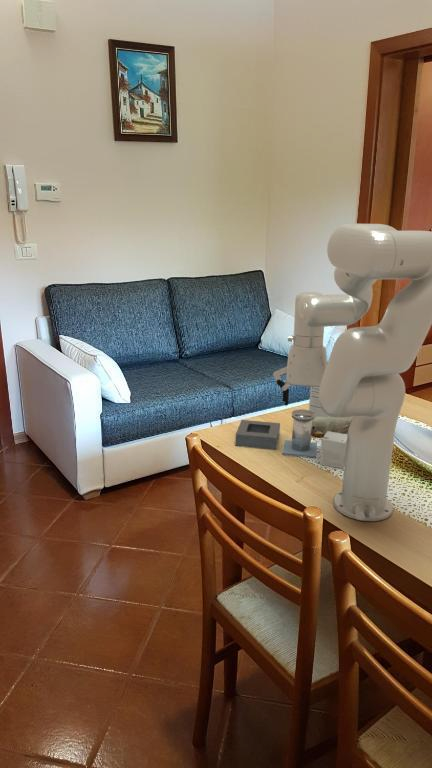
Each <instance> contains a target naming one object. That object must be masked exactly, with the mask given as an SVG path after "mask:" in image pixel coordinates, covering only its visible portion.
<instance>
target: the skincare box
mask: <svg viewBox="0 0 432 768" xmlns="http://www.w3.org/2000/svg"><path fill="white" fill-rule="evenodd" d="M346 444H347V434H341V433H336V432H330V431H327V433H326V434H325V435H324V434H323V437H322V438H321V445H320V447H321V448H320V461H319V462H320V463H319V464H320V466H321V465H322V466H327V467H332V468H335V469H342V470H344V464H345V454H346Z"/></svg>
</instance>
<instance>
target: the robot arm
mask: <svg viewBox="0 0 432 768" xmlns="http://www.w3.org/2000/svg"><path fill="white" fill-rule="evenodd" d="M326 250H327V251H326V253H327V258H328V260H329V262H330V264H331V265H332V266H333V267H335V269H334V272H333V279H334V281H335V284H336V285H337V287H338V288H339V289H340V290H341V291H342V292H343V293H344V294H323V293H321V292H313V291H310V292H309V291H304V292H299V293H297V295H296V297H295V303H294V322H293V323H294V324H293V334H292V335H288V336H287V342H291V344H292V345H290V346H289V351H288V355H287V365H286V366H285V367H283V368H280V369H278V370H276V371H274V372H272V376H273V378H274V380H275V382H276V384H277V386H279V387H280V388H281V390H282V402H284V406H286V407H287V406H288V405H289V398H290V397H289V396H290V395H289V394H290V389H289V388H290V387H291V386H298V387H299V386H300V387H311V386H312V387H320V389H319V402H320V406H321V408H322V410H323V411H324V412H325V413H326V414H327V415H329V416H331V417H336V418H343V417H354V418H353V420H352V422H351V424H350V426H349V429H348V435H347V444H346V454H345V464H344V468H343V475H342V476H343V477H342V485H341V491H338V492H337V493H336V494H335V495H334V496H333V507H335V509H336V510H337V511H338V512H339V513H341V514H342V515H344V516H346V517H348V518H351V519H354V520H358V521H362V522H363V521H364V522H379V521H382V520H383V521H384V520H385V519H387V518H389V517H391V515H392V513H393V509H394V508H393V507H394V506H393V504H392V502H391V501H390V499H388V498H387V495H388V489H389V488H388V486H389V479H390V471H391V463H392V457H393V456H392V455H393V451H392V449H393V445H394V441H395V434H396V428H397V422H398V419H399V416H400V414H401V410H402V408H403V404H404V401H405V396H406V385H405V381H404V379H403V378H402V376H401V375H400V374H402V373H405V372H407V371H408V370H409V369H410V368H411V366H412V365H413V364H414V362H415V360H416V358H417V356H418V354H419V352H420V350H421V348H422V345H423V344H424V342H425V340H426V337H427V335H428V334H429V331H430V329H431V327H432V231H428V230H397V229H396V228H394V227H393V226H390V225H388V224H382V223H344V224H341V225H340V226H338V227H337V228H336V229H335V230H333V232H332V234H331V235H330V237H329V239H328V242H327V248H326ZM378 280H379V281H380V280H410V282H409V283H408V284H406V285H405V286H404V287H403V288H402V289H400V291H398V292H397V293H396V294H395V295H394V297H393V298H392V299H391V300H390V302H389V303H388V305H387V307H386V310H385V312H384V315H383V317H382V319H381V320H380V322H379V323H378V324H376V325H373V326H357V327H351V328H347V329H346V330H344V331H342V333H340V334H339V336H337V338H336V340H335V342H334V344H333V347H332V349H331V352H330V355H329V358H328V357H327V349H326V347H325V345H324V335H325V334H324V333H325V327H343V326H350V325H354V324H356V323H357V322H358V321H359V320H361V318H363V317H364V316H365V315H366V314H367V313H368V311H369V310H370V308H371V306H372V303H373V297H374V293H373V292H374V291H373V285H375V283H376V282H377V281H378ZM327 358H328V359H327ZM327 360H328V361H327ZM284 374H286V376H285V377H286V381H283V380H282V378H281V377H280V376H282V375H284ZM393 450H394V449H393Z"/></svg>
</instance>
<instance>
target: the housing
mask: <svg viewBox="0 0 432 768" xmlns="http://www.w3.org/2000/svg"><path fill="white" fill-rule="evenodd" d="M280 429H281V423H280V422H272V421H270V422H269V421H259V420H248V419H241V420H240V423H239V425H238V428H237V430H236V432H235V441H234V442H235V443H234V445H235V447H242V446H244V447H243V448H252V449H253V448H254V449H264V450H273V451H275V450H277V448H278V443H279V438H280V434H281V433H280V432H281V430H280Z"/></svg>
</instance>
